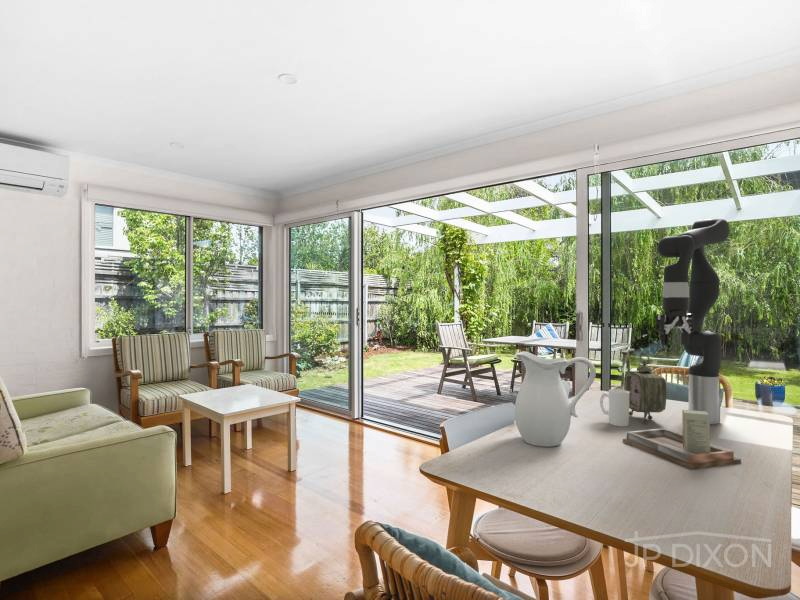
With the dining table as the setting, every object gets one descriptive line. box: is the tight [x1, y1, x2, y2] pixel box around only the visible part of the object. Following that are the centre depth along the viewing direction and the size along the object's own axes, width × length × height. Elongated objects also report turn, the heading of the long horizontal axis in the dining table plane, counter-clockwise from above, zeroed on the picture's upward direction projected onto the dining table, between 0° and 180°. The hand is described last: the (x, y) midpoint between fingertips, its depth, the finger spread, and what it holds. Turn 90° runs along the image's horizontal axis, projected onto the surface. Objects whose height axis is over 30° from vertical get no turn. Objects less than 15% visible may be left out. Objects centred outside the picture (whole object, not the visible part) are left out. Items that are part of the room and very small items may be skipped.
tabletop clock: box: [623, 352, 667, 424], centre depth 170 cm, size 14×9×25 cm, turn 178°
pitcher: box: [514, 351, 597, 448], centre depth 142 cm, size 24×17×28 cm
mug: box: [599, 388, 630, 427], centre depth 165 cm, size 10×7×12 cm, turn 46°
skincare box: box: [681, 409, 711, 454], centre depth 129 cm, size 6×4×12 cm
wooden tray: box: [622, 427, 742, 470], centre depth 135 cm, size 18×24×3 cm
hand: (675, 344), depth 151 cm, fingers open, 8 cm apart
